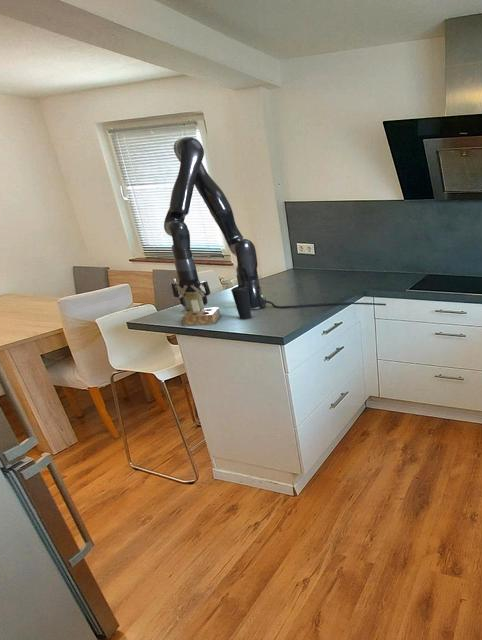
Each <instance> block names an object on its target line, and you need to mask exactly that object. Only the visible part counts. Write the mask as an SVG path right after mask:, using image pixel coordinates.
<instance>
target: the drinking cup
mask: <svg viewBox="0 0 482 640" xmlns="http://www.w3.org/2000/svg"><path fill="white" fill-rule="evenodd" d="M235 276H236V281H237V285H235V286H233V287H232V288H230V292H231V294H232V297H233V301H234V304H235V306H236V311H237V314H238V317H239V319H240V320H248V319H251V318H252V312H251V311H252V310H250V298H249V287H246V286H242V285H240V282H239V277H238V274H237V273H236V274H235Z"/></svg>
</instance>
